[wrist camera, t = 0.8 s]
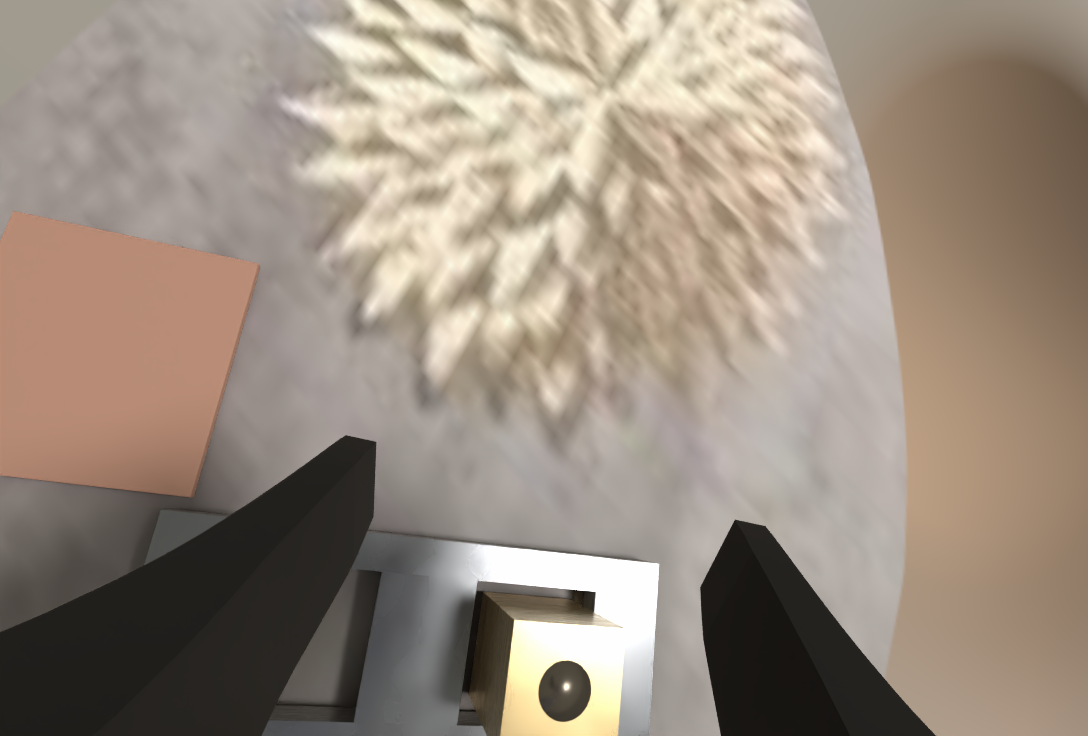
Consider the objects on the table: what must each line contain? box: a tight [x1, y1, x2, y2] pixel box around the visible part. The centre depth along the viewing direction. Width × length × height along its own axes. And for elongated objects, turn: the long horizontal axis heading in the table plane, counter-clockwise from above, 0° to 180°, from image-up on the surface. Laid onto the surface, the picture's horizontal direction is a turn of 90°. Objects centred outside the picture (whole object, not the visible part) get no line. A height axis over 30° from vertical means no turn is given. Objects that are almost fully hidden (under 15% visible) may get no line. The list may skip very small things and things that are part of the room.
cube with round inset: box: [469, 592, 625, 736], centre depth 20 cm, size 4×4×6 cm
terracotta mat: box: [0, 211, 260, 497], centre depth 21 cm, size 10×9×1 cm
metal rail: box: [144, 509, 659, 736], centre depth 21 cm, size 8×20×2 cm, turn 84°
